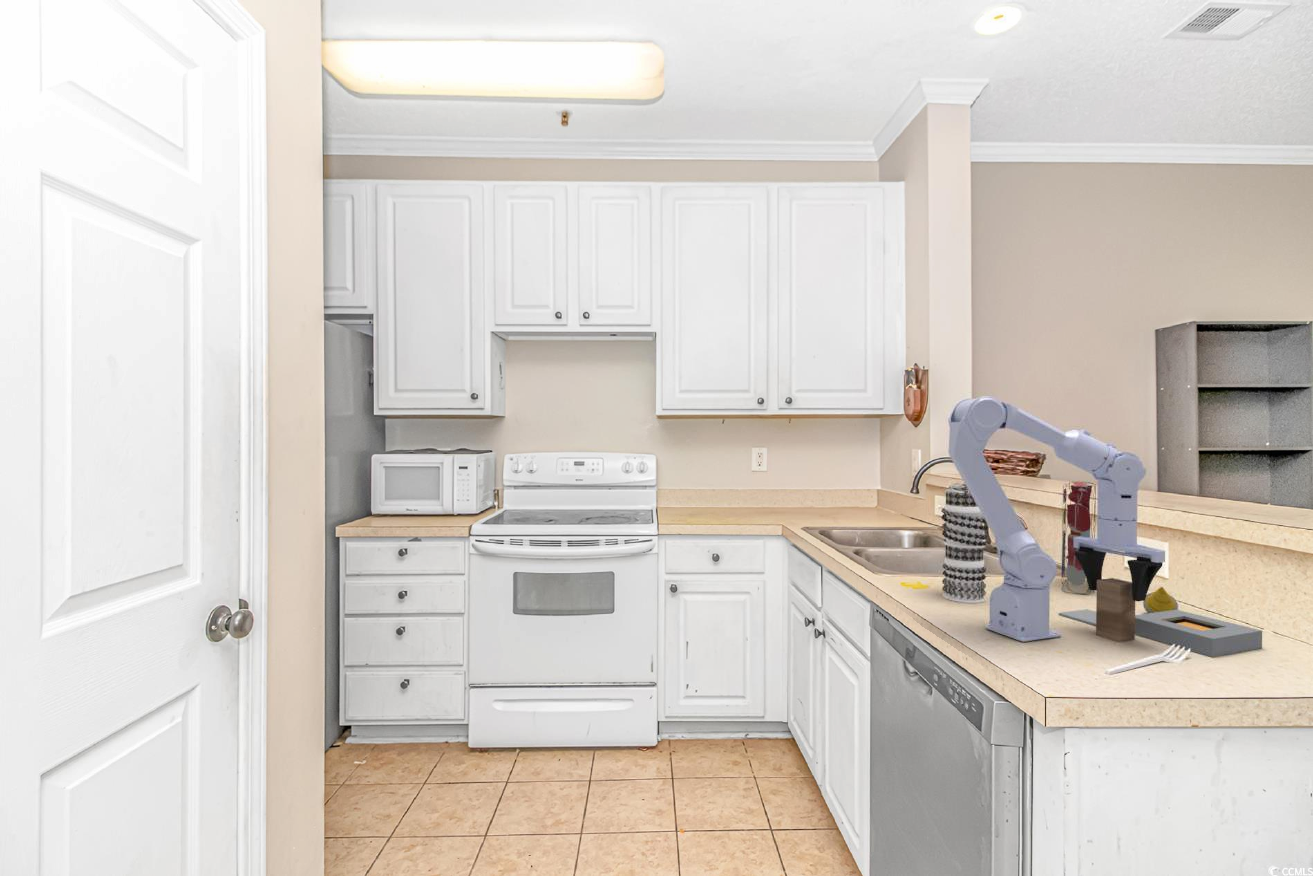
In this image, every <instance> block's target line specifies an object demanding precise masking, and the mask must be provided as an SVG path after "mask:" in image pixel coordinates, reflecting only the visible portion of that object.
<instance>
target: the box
mask: <svg viewBox="0 0 1313 876" xmlns="http://www.w3.org/2000/svg"><path fill="white" fill-rule="evenodd" d="M1071 484H1072V485H1071ZM1090 484H1091V485H1090ZM1064 486H1065V485H1063V486H1062V491H1063V504H1064V507H1063V513H1062V529H1061V530H1062V531H1061V533H1062V534H1061V535H1062V536H1061V537H1062V538H1061V539H1062V541H1061V542H1062V543H1061V550H1062V554H1061V579H1062V581H1064V582H1067V583H1066V584H1068V582H1069V583H1070V584H1071V585H1074V586H1079V587H1080V586H1083V585H1084V584H1085V582H1087V579H1086V576H1085V573H1084V571H1083V568H1082V566H1081V564H1080V562H1079V561H1078V559H1077V558H1076V556H1075V551H1079V548H1075V547H1073V545H1074V537H1086V538H1094V539H1096V533H1093V532H1095V527H1092V526H1093V525H1092V524H1093V523H1092V520H1093V521H1096V508H1097V505H1096V504H1097V503H1096V502H1097V497H1096V495H1097V493H1096V489H1097V484H1095V483H1092V482H1088V481H1087V482H1086V481H1071V482H1070V481H1069V482H1068V484H1067V483H1066V486H1068V489H1069V493H1068V492H1067V488H1065V487H1064ZM1093 486H1094V487H1093ZM1092 489H1093V490H1094V494H1092V492H1093V490H1092ZM1091 497H1092V501H1094V503H1093V505H1094V506H1093V508H1094V509H1093V511H1094V512H1093V511H1091V510H1090V508H1091V507H1090V506H1091V505H1090V504H1091V503H1090V502H1091ZM1067 499H1068V500H1069V501H1070V503H1069V504H1067ZM1072 502H1073V503H1072ZM1066 510H1067V511H1066ZM1091 515H1093V517H1091ZM1066 522H1067V524H1066ZM1067 527H1068V528H1069V529H1070V533H1068V534H1067V533H1066V532H1067V529H1068V528H1067ZM1066 536H1067V547H1066ZM1066 550H1067V554H1066ZM1066 555H1067V556H1066ZM1065 563H1066V567H1065ZM1064 577H1065V578H1066V579H1065V578H1064ZM1064 582H1061V585H1062V587H1061V591H1062V592H1064V593H1068V594H1070V592H1071V593H1072V594H1073V595H1074V594H1075V595H1084V596H1085V595H1086V596H1088V595H1089V593H1091V592H1092V590H1089V587H1088V589H1087V591H1086V593H1079V592H1076V591H1072V590H1071V589H1070V588H1069V586H1068V585H1066V587H1067V589H1068V590H1069V591H1070V592H1068V591H1065V590H1063V588H1064V584H1065V583H1064ZM1088 592H1089V593H1088Z"/></svg>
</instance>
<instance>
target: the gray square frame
mask: <svg viewBox="0 0 1313 876" xmlns="http://www.w3.org/2000/svg"><path fill="white" fill-rule="evenodd" d="M1182 622H1188V623H1191V624H1195V625H1199V626H1203V627H1207V628H1211V629H1210V630H1204V631H1202V630H1198V629H1194V628H1190V627H1187V626H1183V625H1179V624H1175V623H1182ZM1135 636H1139V637H1143V638H1147V639H1150V640H1153V641H1156V642H1161V643H1162V644H1163V643H1164V644H1167V645H1168V646H1169V645H1170V646H1172V645H1173V644H1175V646H1174V647H1175V648H1176V647H1177V646H1178V645H1180V647H1179V649H1182V648H1183V647H1185V649H1184V650H1186V651H1187V650H1188V649H1189V648H1190V649H1191V650H1190V652H1194V653H1196V654H1200V655H1204V656H1207V657H1210V658H1215V657H1221V656H1228V655H1232V654H1239V653H1243V652H1249V651H1253V650H1259V649H1263V630H1261V629H1259V628H1258V629H1257V628H1252V627H1249V626H1245V625H1241V624H1238V623H1237V624H1236V623H1233V622H1229V621H1225V620H1220V619H1216V618H1212V617H1209V616H1204V615H1201V614H1197V613H1196V614H1195V613H1192V612H1188V611H1184V610H1180V609H1178V610H1170V611H1162V612H1155V613H1148V612H1147V613H1141V614H1135Z"/></svg>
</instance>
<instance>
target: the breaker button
mask: <svg viewBox="0 0 1313 876" xmlns="http://www.w3.org/2000/svg"><path fill="white" fill-rule="evenodd" d="M1175 624H1179V625H1183V626H1187V627H1190V628H1194V629H1198V630H1202V631H1204V630H1210V629H1211V628H1207V627H1203V626H1199V625H1195V624H1191V623H1188V622H1182V623H1175Z"/></svg>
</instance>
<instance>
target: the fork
mask: <svg viewBox="0 0 1313 876" xmlns="http://www.w3.org/2000/svg"><path fill="white" fill-rule="evenodd" d="M1174 648H1175V649H1174ZM1179 649H1180V650H1179ZM1178 650H1179V651H1178ZM1184 650H1186V649H1185V647H1183V648H1180V645H1178V646H1177V647H1176V646H1175V644H1173V645H1170V647H1169V648H1167V649H1166V650H1164V651H1163V652H1161V653H1159V654H1154V655H1151V656H1148V657H1145V658H1141V659H1138V660H1135V661H1134V660H1133V661H1131V662H1127V663H1124V664H1121V665H1118V666H1114V667H1111V668H1108V669H1105V672H1104V674H1107V675H1110V676H1111V675H1114V674H1117V673H1122V672H1126V671H1129V670H1133V669H1136V668H1140V667H1143V666H1147V665H1152V664H1156V663H1160V662H1166V663H1169V664H1177V663H1181V662H1184V661H1185V660H1186V659H1187V657H1188V656H1189V654H1190V652H1191V651H1190V650H1191V649H1190V648H1189V649H1188V650H1186V651H1185V653H1183V652H1184ZM1177 651H1178V652H1177ZM1181 654H1182V655H1181Z"/></svg>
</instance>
